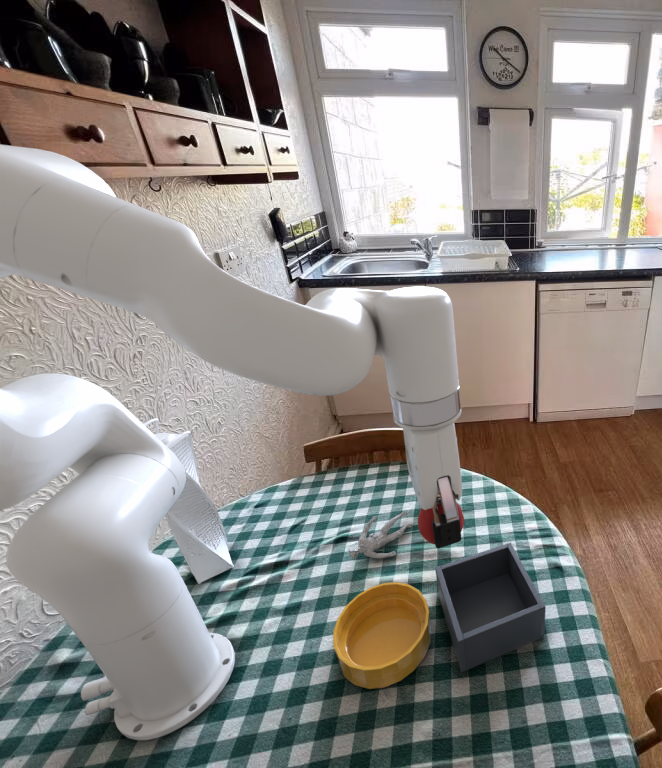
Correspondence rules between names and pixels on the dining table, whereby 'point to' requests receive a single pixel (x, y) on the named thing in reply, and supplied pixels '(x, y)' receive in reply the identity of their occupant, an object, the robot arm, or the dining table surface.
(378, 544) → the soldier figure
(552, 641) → the dining table surface
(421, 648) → the bowl
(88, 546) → the robot arm
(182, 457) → the skyscraper
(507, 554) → the bin
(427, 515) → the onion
